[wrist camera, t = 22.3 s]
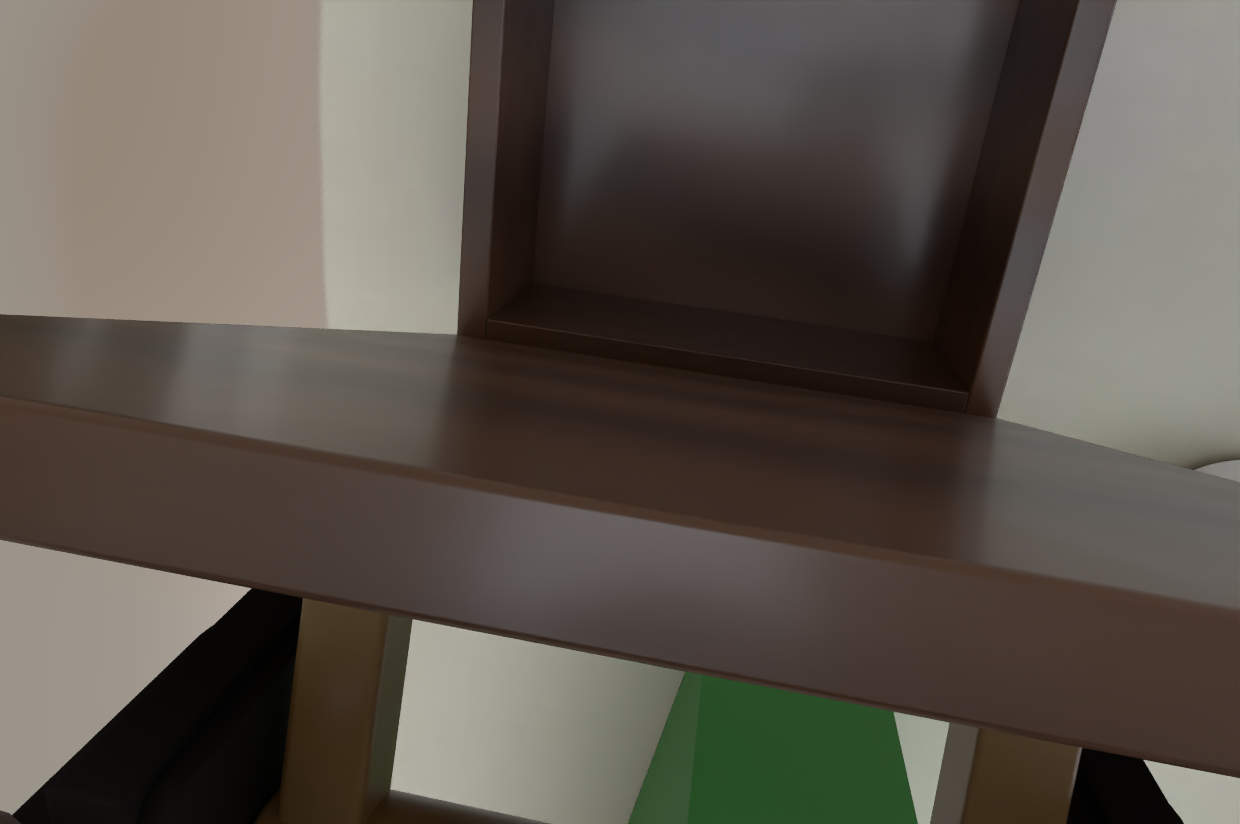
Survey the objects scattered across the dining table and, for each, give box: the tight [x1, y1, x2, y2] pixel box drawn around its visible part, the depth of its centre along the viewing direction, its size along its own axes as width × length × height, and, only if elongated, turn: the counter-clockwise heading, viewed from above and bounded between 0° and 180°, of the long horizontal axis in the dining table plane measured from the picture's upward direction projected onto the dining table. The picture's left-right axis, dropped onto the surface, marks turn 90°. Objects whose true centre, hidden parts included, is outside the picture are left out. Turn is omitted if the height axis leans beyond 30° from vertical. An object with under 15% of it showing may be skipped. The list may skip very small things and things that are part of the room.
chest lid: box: [0, 314, 1240, 824], centre depth 15 cm, size 21×16×5 cm
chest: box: [457, 0, 1117, 418], centre depth 24 cm, size 20×16×6 cm
